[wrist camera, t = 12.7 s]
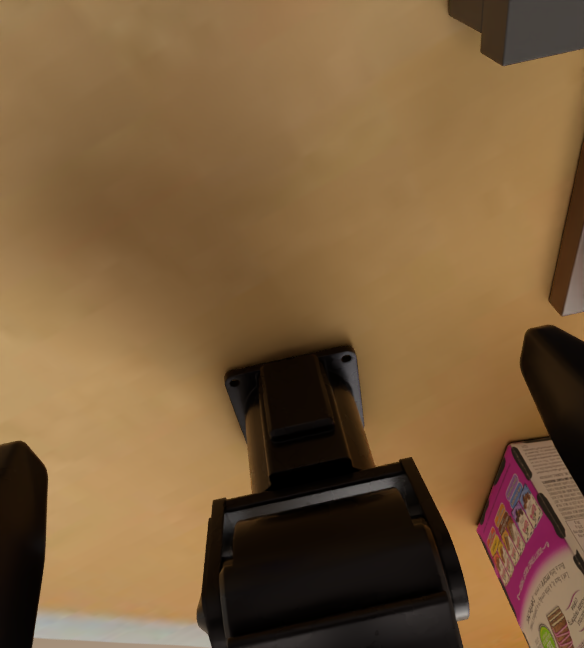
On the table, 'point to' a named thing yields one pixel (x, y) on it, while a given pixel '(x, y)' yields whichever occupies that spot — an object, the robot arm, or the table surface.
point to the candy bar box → (538, 543)
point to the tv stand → (523, 27)
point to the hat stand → (571, 254)
